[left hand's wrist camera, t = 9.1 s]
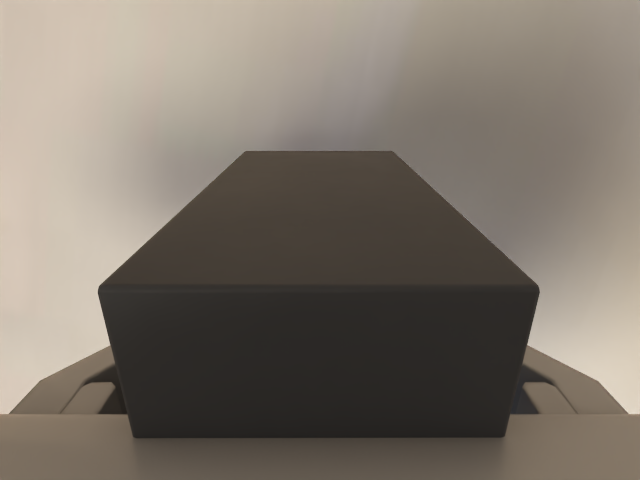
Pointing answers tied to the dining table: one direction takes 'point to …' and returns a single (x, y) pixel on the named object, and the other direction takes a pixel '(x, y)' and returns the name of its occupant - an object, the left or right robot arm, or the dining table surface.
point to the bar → (318, 309)
